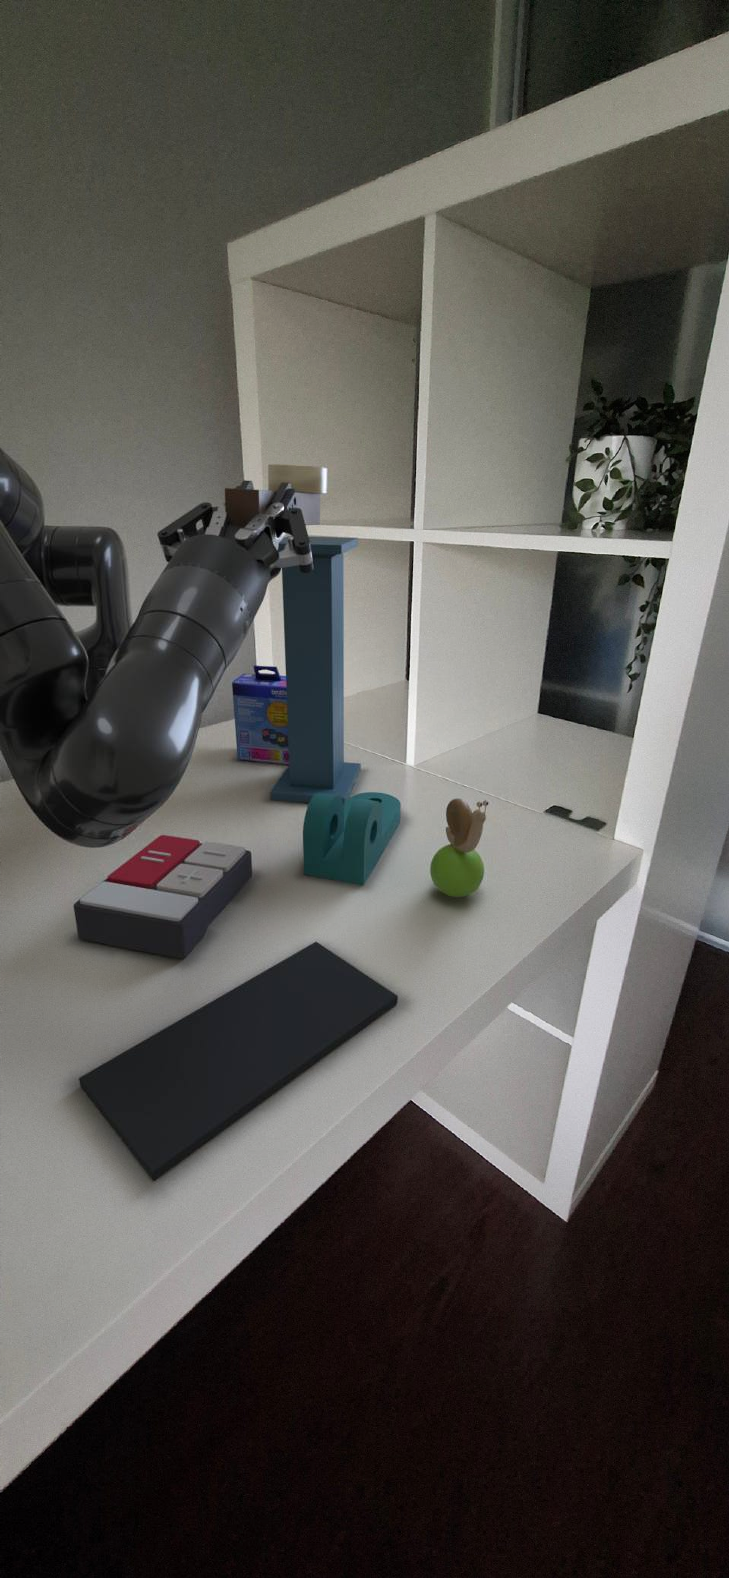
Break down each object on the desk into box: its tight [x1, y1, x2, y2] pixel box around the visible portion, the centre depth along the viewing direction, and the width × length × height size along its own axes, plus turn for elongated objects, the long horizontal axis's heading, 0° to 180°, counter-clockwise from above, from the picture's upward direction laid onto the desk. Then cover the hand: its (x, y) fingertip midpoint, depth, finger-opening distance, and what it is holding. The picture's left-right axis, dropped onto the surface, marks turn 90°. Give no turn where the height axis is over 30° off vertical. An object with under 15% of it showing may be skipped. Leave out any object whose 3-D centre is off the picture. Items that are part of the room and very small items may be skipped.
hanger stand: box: [269, 535, 362, 805], centre depth 89 cm, size 12×10×32 cm
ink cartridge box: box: [231, 665, 289, 766], centre depth 101 cm, size 10×6×14 cm, turn 79°
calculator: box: [73, 834, 253, 959], centre depth 68 cm, size 11×4×15 cm
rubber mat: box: [78, 941, 399, 1181], centre depth 52 cm, size 22×10×1 cm, turn 135°
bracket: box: [302, 791, 402, 886], centre depth 79 cm, size 18×7×8 cm, turn 163°
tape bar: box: [224, 463, 329, 526], centre depth 64 cm, size 18×6×5 cm, turn 167°
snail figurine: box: [429, 798, 489, 898], centre depth 68 cm, size 5×6×12 cm
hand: (268, 491), depth 62 cm, fingers closed on tape bar, 3 cm apart
